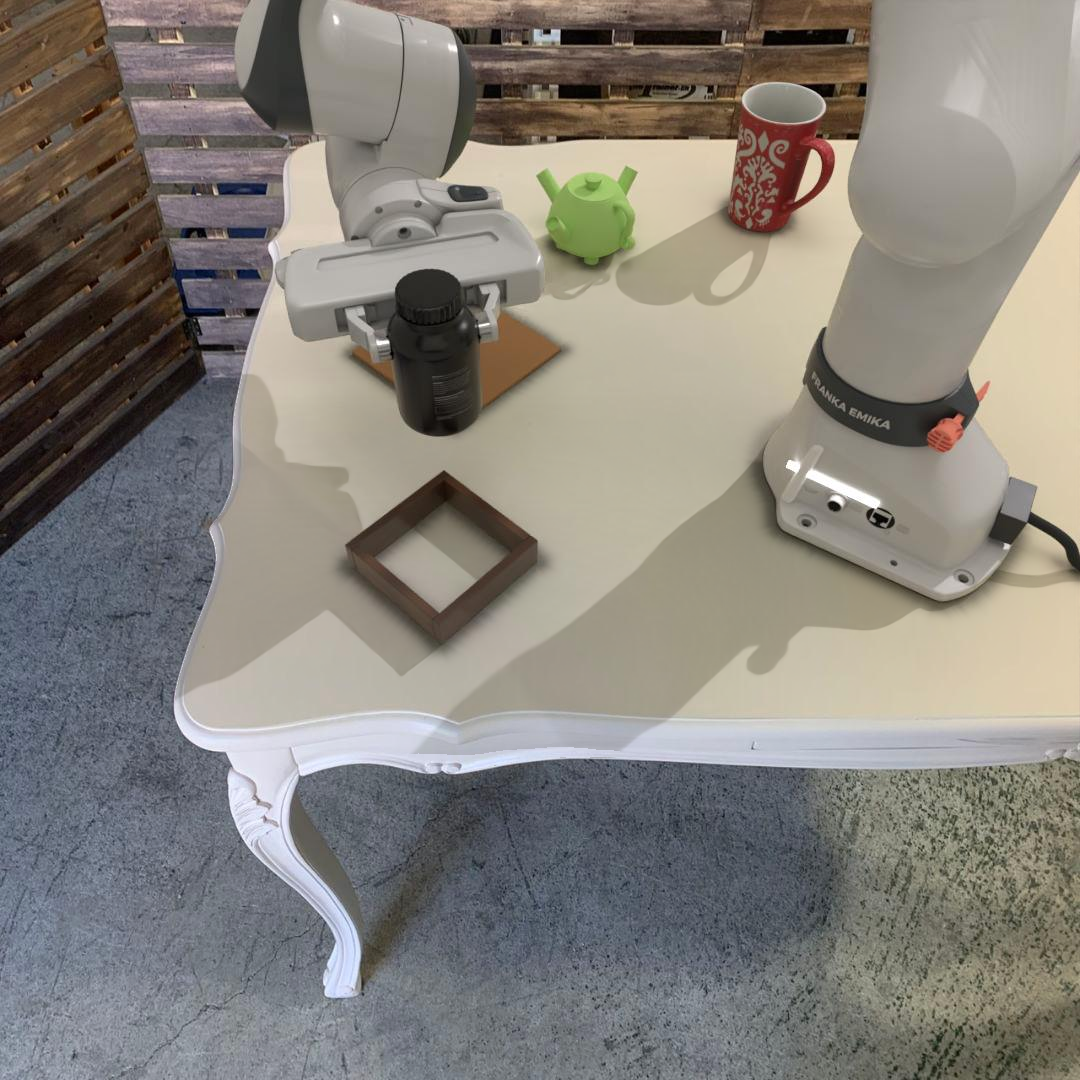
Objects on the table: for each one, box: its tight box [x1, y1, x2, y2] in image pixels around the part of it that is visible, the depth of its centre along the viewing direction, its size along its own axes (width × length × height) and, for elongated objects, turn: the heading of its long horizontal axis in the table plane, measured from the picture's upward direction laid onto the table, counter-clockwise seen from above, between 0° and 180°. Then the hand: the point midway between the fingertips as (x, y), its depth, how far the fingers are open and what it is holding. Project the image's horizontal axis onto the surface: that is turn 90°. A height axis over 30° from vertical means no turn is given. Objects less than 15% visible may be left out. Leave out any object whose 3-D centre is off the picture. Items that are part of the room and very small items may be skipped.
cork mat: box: [351, 309, 562, 410], centre depth 91 cm, size 15×15×1 cm
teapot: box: [535, 165, 639, 266], centre depth 99 cm, size 11×12×8 cm
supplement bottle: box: [386, 269, 483, 438], centre depth 68 cm, size 7×7×12 cm
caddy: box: [344, 469, 539, 645], centre depth 74 cm, size 11×11×3 cm
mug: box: [727, 81, 836, 232], centre depth 100 cm, size 13×9×14 cm
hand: (436, 345), depth 66 cm, fingers closed on supplement bottle, 7 cm apart
